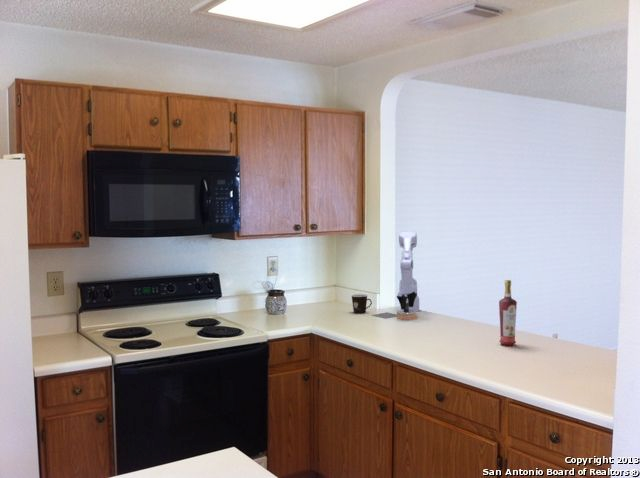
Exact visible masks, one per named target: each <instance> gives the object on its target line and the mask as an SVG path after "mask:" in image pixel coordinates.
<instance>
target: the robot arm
mask: <svg viewBox="0 0 640 478" xmlns="http://www.w3.org/2000/svg"><path fill="white" fill-rule="evenodd" d="M398 243H399V247H400V248H402V249H403V250H402V252H401V260H400V262H399V263H400V275H401V276H400V277H401V278H400V280H399V288H398V292H397V295H396V298H397V300H398V302H399V306H400V310H405V308H406V303H409V310H412V311H415V312H420V311H421V309H420V298H419V296H418V281H417V280H416V279H415V278H414V277H413V271H414V259H413V254H414V253H413V249H414V248H416V247H417V244H418V233H417V232H416V231H400V232H399V233H398Z"/></svg>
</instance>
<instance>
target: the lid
mask: <svg viewBox="0 0 640 478" xmlns="http://www.w3.org/2000/svg"><path fill="white" fill-rule="evenodd" d="M416 313H417V311H412V310H409V303H406V308H405V310H401V309H399V310H397V311H396V314H399V315H414V314H416Z"/></svg>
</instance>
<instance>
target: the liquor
mask: <svg viewBox="0 0 640 478" xmlns="http://www.w3.org/2000/svg"><path fill="white" fill-rule="evenodd" d="M511 286H512V280H511V279H505V280H504V295H503V298H501V299H500V300H499V301H498V311H499V328H500V330H499V331H500V333H499V335H500V336H499V337H500V340H499V343H500V344H501V345H502V346H504V345H505V346H506V347H513V346H514V345H515V344H517V341H516V319H517V304H518V302H517V301H516V300H515V299H513V298H512V290H511V289H512V288H511ZM512 345H513V346H512Z"/></svg>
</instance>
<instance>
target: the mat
mask: <svg viewBox="0 0 640 478" xmlns="http://www.w3.org/2000/svg"><path fill="white" fill-rule="evenodd" d="M370 316H371V317H376V318H380V319H385V320H386V319H391V318H397V313H393V312H389V311H387V312H383V313H376V314H371V315H370Z"/></svg>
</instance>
